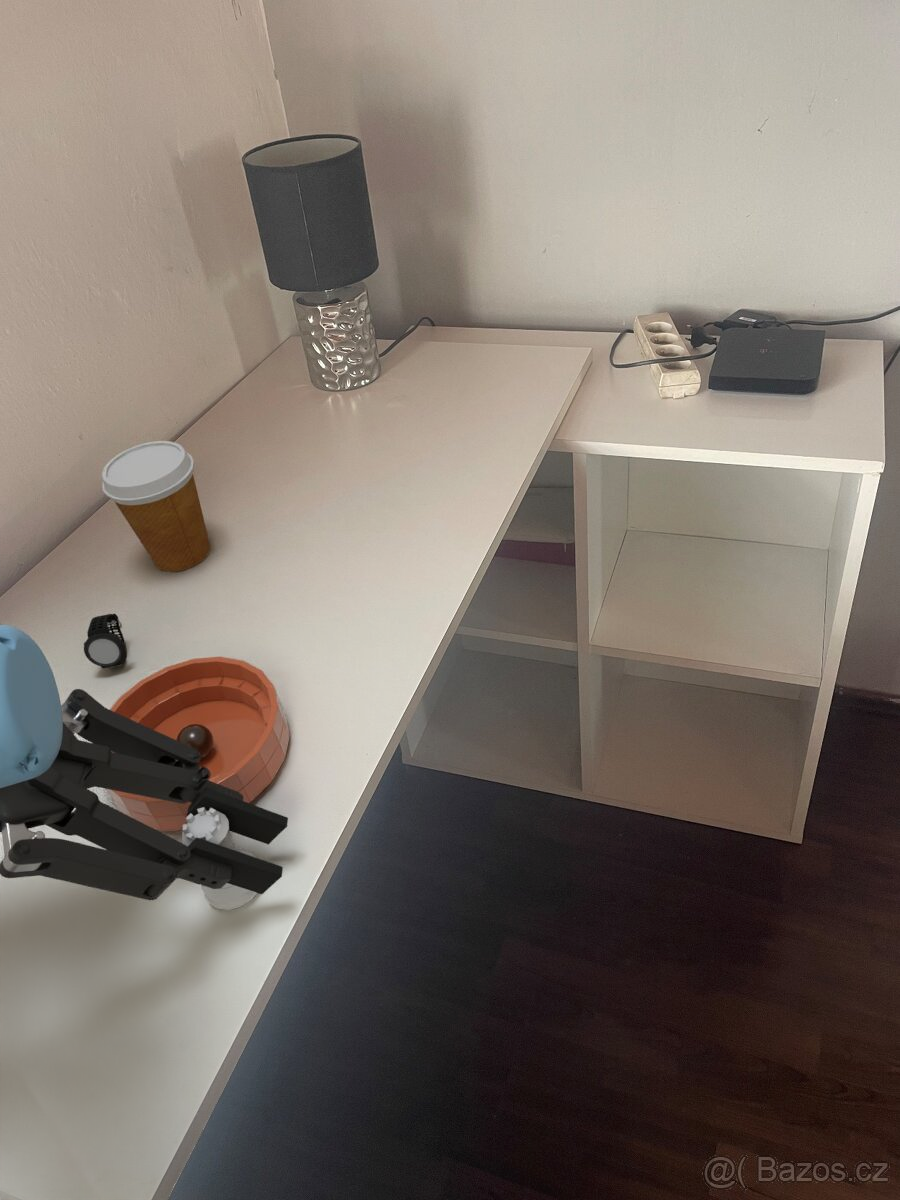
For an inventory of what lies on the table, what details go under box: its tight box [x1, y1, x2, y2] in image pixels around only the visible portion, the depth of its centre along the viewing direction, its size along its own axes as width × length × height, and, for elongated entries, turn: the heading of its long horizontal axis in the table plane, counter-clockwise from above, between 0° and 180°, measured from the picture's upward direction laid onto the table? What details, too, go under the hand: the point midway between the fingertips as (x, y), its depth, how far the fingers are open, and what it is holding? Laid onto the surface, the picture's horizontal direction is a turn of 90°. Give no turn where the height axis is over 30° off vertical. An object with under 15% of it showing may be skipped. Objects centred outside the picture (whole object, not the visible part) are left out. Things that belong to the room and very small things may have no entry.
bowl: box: [105, 656, 290, 832], centre depth 72 cm, size 15×15×4 cm
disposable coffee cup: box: [101, 440, 211, 573], centre depth 93 cm, size 10×10×12 cm
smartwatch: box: [83, 613, 127, 669], centre depth 83 cm, size 4×5×5 cm
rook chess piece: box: [181, 807, 257, 911], centre depth 61 cm, size 4×4×8 cm
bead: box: [177, 724, 214, 759], centre depth 72 cm, size 3×3×3 cm
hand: (274, 855), depth 62 cm, fingers closed on rook chess piece, 3 cm apart
